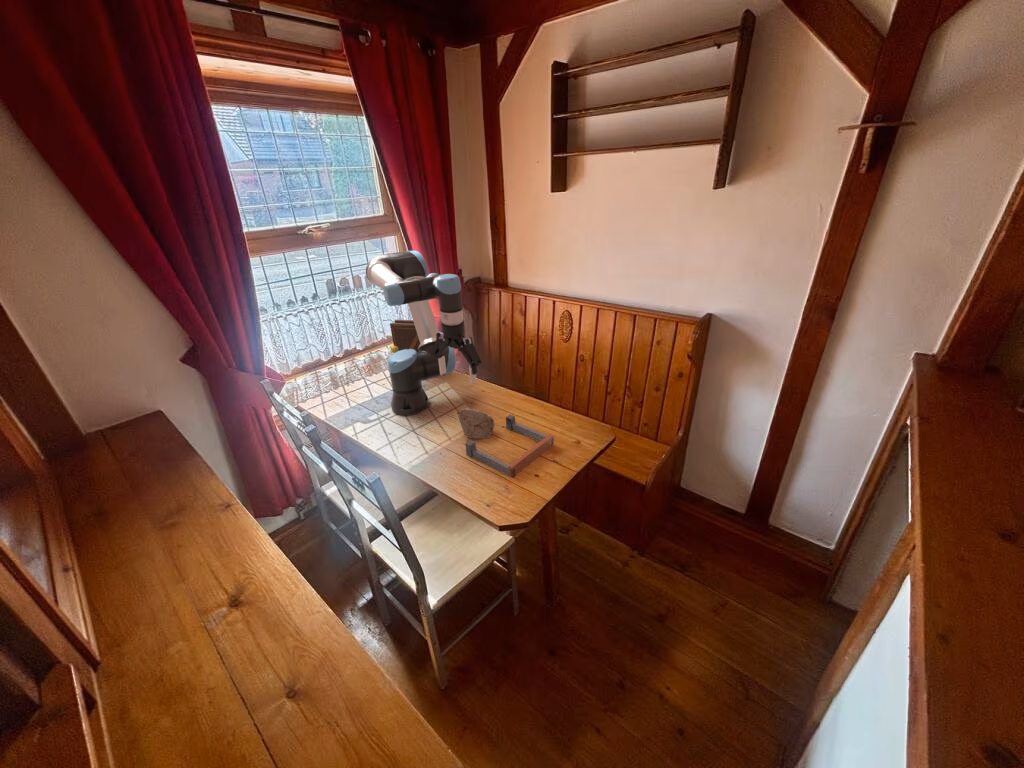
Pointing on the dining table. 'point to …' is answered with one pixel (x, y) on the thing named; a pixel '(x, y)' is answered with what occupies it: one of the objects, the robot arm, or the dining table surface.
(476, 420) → the rock
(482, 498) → the dining table surface
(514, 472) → the frame
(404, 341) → the book
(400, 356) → the robot arm
